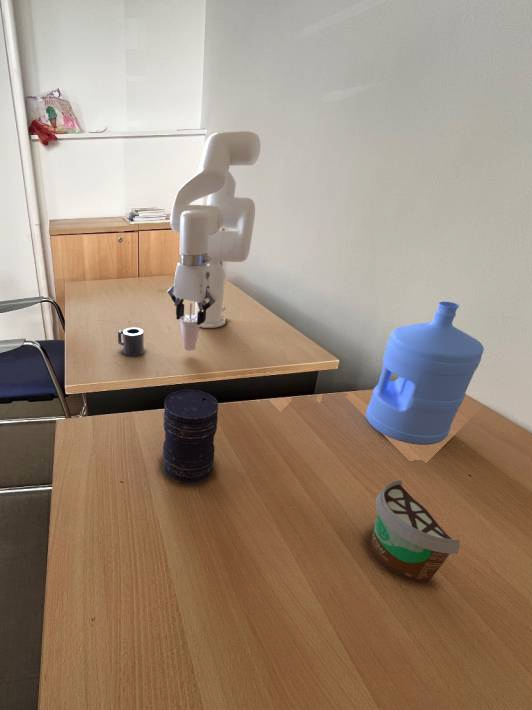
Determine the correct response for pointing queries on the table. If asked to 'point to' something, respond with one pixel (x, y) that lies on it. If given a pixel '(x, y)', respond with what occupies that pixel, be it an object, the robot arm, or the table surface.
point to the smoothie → (189, 330)
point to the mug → (132, 341)
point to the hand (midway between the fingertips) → (190, 320)
